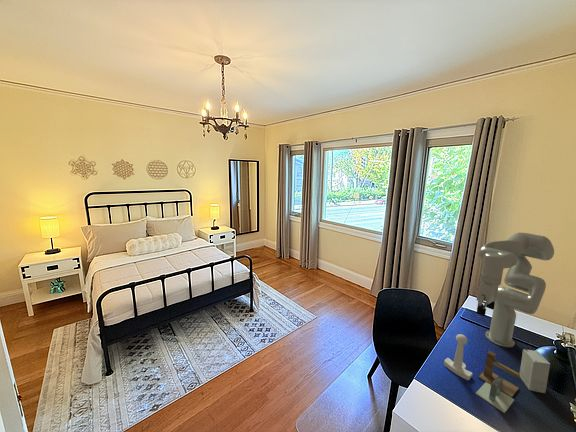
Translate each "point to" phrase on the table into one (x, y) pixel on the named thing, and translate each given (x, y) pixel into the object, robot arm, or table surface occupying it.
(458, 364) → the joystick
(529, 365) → the skincare box
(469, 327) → the table surface
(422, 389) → the table surface
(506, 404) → the mat
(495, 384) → the grey u-shaped block
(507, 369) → the stand
